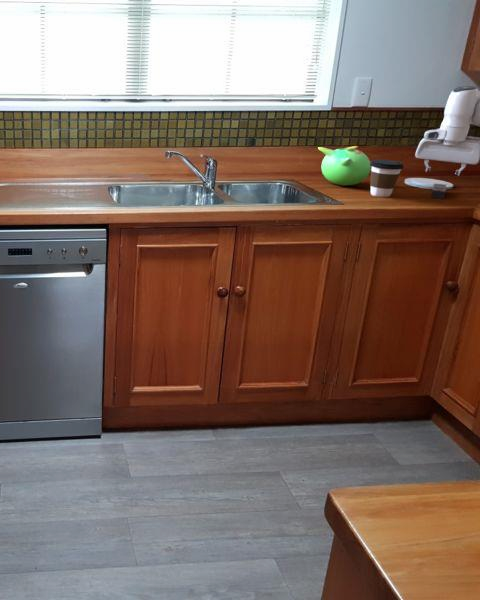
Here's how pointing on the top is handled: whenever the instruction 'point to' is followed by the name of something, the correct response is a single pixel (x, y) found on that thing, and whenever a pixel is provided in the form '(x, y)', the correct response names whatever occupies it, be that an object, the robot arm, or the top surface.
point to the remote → (438, 191)
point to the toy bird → (345, 165)
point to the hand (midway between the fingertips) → (442, 173)
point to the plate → (426, 183)
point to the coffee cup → (384, 176)
